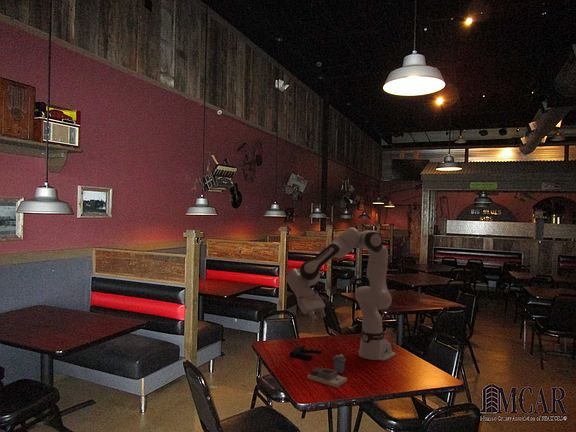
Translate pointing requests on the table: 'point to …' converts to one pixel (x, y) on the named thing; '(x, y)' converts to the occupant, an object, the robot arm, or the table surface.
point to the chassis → (326, 377)
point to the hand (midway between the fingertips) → (320, 317)
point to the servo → (339, 363)
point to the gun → (301, 353)
